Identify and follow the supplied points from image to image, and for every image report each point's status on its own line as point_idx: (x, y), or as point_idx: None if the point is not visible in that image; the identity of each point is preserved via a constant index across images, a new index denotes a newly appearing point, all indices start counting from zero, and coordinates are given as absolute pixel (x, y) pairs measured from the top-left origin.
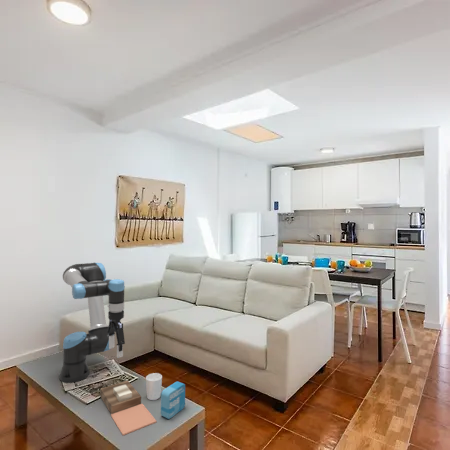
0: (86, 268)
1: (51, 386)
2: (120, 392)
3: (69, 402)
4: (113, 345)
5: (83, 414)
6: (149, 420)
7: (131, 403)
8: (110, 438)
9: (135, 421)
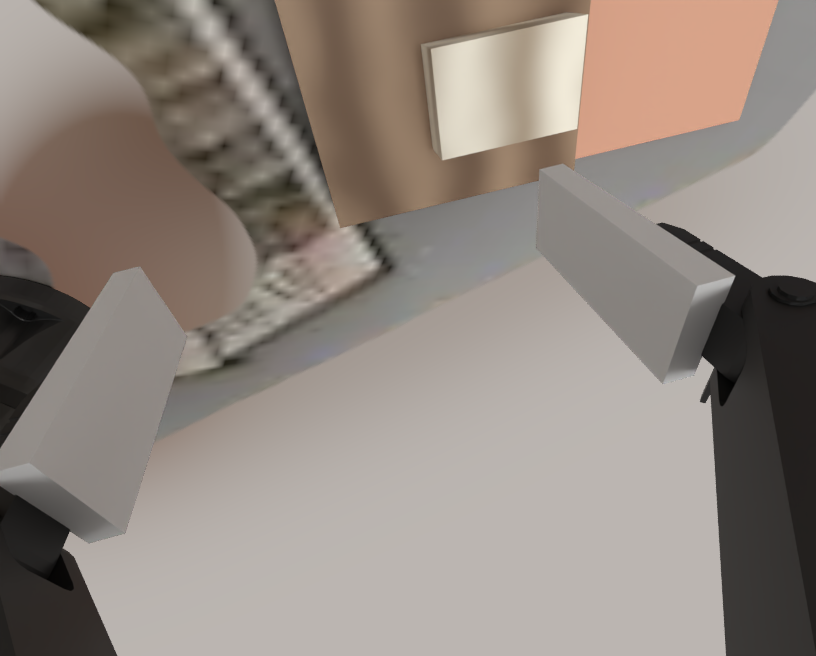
0: None
1: (162, 420)
2: (531, 113)
3: (341, 339)
4: (137, 305)
5: (469, 280)
6: None
7: None
8: (702, 175)
9: (711, 27)
